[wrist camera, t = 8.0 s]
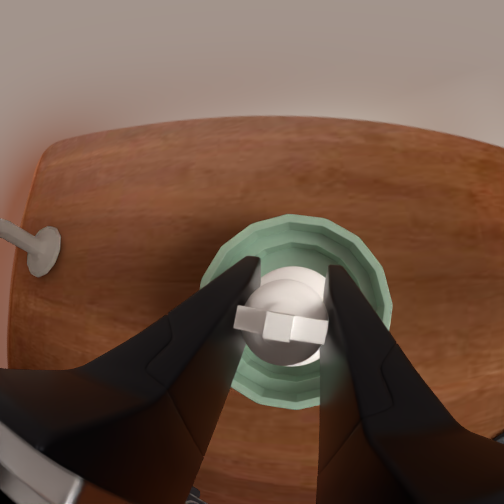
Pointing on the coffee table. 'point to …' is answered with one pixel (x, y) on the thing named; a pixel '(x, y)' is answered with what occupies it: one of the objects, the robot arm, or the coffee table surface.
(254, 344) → the chess piece
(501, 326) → the coffee table surface
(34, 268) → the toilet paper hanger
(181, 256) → the coffee table surface
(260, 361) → the bowl
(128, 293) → the coffee table surface
